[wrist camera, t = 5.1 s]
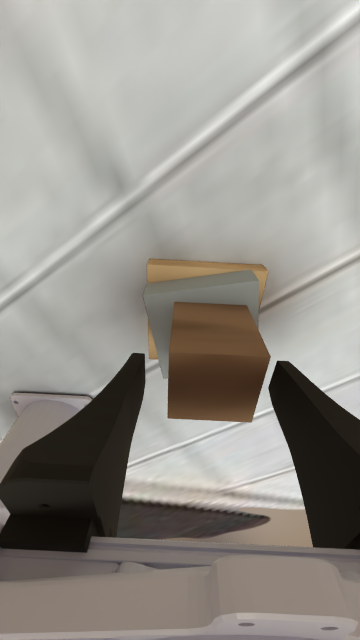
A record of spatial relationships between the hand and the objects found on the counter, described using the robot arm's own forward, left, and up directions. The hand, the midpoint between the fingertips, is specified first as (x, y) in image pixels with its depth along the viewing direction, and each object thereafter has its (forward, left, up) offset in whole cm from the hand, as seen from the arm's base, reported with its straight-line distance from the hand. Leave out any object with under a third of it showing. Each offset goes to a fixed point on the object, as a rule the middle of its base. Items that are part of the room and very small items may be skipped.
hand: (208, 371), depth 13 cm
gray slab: (0, 0, -5) cm, 5 cm away
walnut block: (0, 0, -3) cm, 3 cm away
